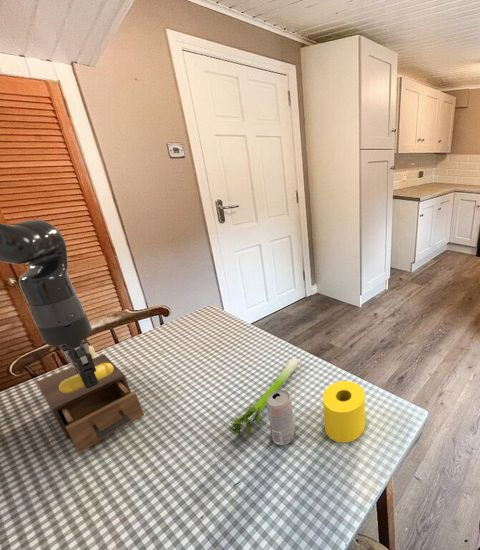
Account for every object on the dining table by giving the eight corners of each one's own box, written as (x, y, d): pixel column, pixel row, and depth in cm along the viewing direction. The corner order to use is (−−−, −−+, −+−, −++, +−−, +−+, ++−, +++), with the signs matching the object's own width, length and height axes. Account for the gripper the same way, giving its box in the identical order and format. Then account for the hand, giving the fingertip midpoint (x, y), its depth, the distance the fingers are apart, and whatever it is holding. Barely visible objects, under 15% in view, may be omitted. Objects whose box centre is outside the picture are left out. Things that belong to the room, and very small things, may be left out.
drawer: (152, 424, 75) (143, 401, 72) (85, 464, 65) (73, 440, 62) (123, 391, 85) (114, 370, 83) (61, 422, 76) (50, 399, 73)
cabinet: (134, 401, 83) (124, 375, 79) (66, 438, 72) (51, 409, 69) (114, 379, 91) (104, 354, 88) (50, 408, 81) (36, 381, 77)
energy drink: (288, 423, 76) (282, 385, 72) (299, 436, 72) (295, 397, 68) (268, 436, 73) (261, 397, 68) (279, 450, 69) (273, 411, 64)
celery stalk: (305, 370, 97) (251, 446, 69) (285, 369, 99) (225, 444, 71) (302, 353, 95) (245, 424, 68) (282, 353, 97) (219, 422, 69)
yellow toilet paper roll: (317, 434, 73) (314, 404, 69) (336, 404, 82) (334, 376, 78) (355, 448, 69) (354, 417, 66) (370, 415, 78) (370, 386, 75)
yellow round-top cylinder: (63, 398, 65) (57, 385, 64) (61, 394, 67) (54, 381, 66) (117, 373, 72) (112, 361, 72) (113, 370, 74) (108, 359, 73)
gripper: (28, 315, 64) (59, 379, 71) (44, 336, 57) (77, 406, 63) (74, 301, 70) (99, 362, 76) (94, 319, 62) (120, 385, 69)
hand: (89, 382), depth 70 cm, fingers closed on yellow round-top cylinder, 3 cm apart
